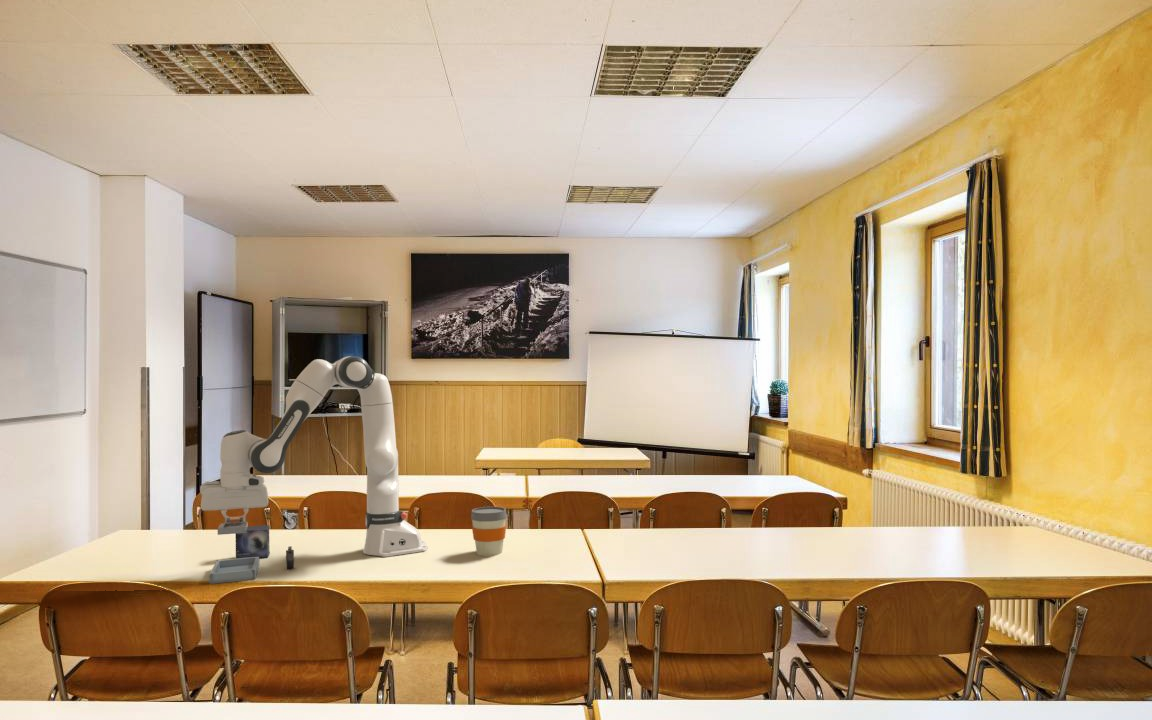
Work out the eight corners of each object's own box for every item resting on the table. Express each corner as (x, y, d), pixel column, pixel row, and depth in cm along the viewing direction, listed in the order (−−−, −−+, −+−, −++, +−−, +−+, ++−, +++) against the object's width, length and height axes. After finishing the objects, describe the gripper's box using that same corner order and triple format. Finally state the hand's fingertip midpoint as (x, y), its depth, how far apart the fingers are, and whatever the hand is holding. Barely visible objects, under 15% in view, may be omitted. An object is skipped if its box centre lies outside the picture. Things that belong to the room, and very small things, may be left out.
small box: (235, 561, 259) (234, 530, 259) (238, 556, 266) (237, 526, 266) (267, 558, 262) (267, 528, 262) (270, 554, 268) (269, 524, 268)
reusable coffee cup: (501, 557, 257) (500, 513, 258) (466, 556, 260) (465, 513, 260) (511, 548, 270) (511, 506, 270) (478, 547, 272) (477, 506, 272)
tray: (259, 565, 253) (259, 556, 253) (255, 579, 237) (255, 569, 237) (217, 569, 249) (216, 560, 249) (209, 583, 232) (209, 574, 232)
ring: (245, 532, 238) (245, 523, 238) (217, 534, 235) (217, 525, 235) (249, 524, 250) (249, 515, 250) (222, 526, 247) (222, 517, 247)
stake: (294, 567, 250) (293, 546, 250) (293, 569, 247) (293, 548, 247) (286, 567, 249) (286, 546, 249) (286, 570, 246) (285, 548, 246)
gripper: (198, 483, 240) (198, 526, 240) (267, 479, 247) (267, 522, 247) (201, 480, 246) (201, 522, 246) (268, 477, 253) (268, 518, 253)
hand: (235, 522), depth 246 cm, fingers closed on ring, 3 cm apart
